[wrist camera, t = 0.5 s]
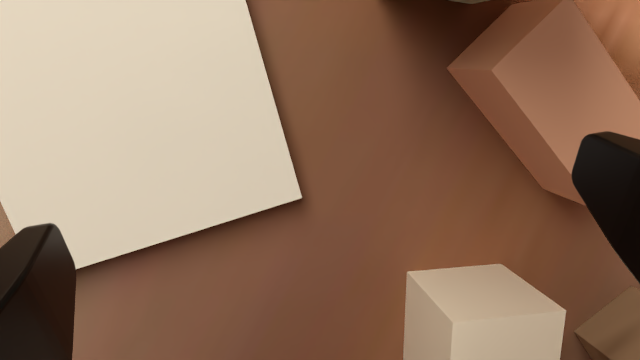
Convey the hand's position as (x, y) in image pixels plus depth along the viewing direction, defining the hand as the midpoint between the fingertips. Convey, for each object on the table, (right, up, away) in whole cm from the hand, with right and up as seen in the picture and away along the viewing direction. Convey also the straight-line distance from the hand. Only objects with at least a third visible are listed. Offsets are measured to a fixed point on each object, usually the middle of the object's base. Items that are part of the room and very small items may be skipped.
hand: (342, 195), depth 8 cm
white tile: (-8, +3, +12) cm, 14 cm away
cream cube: (+6, -7, +17) cm, 19 cm away
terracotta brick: (+9, +4, +15) cm, 18 cm away
